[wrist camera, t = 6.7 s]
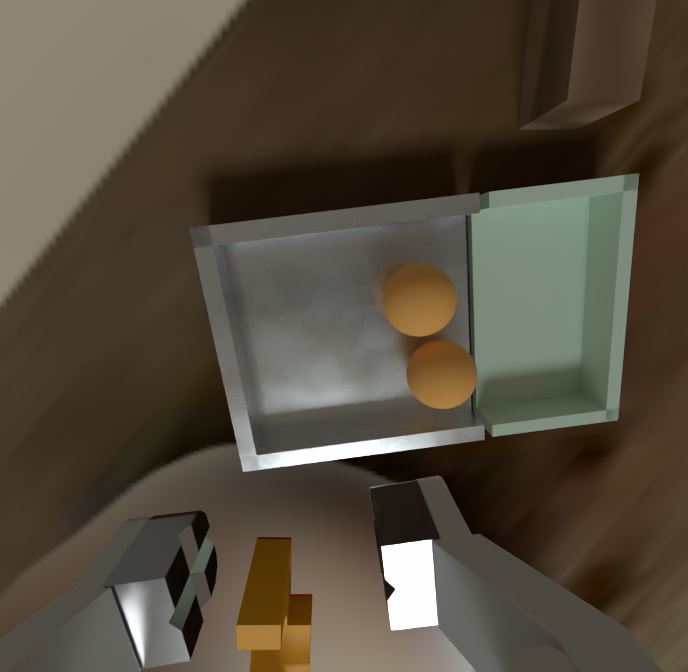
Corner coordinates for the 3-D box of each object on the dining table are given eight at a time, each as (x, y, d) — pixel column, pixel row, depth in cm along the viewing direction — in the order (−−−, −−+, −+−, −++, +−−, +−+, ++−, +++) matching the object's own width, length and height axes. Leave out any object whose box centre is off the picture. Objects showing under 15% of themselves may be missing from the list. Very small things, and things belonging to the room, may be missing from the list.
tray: (596, 183, 21) (639, 173, 18) (584, 399, 25) (617, 420, 22) (467, 199, 21) (489, 191, 18) (473, 414, 25) (492, 436, 22)
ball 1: (441, 257, 21) (467, 260, 17) (444, 323, 22) (470, 339, 18) (374, 266, 21) (385, 270, 17) (381, 331, 22) (392, 349, 18)
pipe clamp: (309, 653, 30) (305, 760, 24) (258, 654, 30) (240, 762, 24) (314, 537, 27) (310, 624, 21) (257, 536, 27) (236, 625, 21)
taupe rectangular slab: (602, -84, 18) (688, -187, 14) (574, 130, 21) (639, 100, 16) (536, -85, 18) (602, -190, 14) (516, 130, 21) (567, 100, 16)
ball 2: (460, 328, 22) (489, 346, 18) (462, 387, 23) (490, 416, 19) (397, 336, 22) (412, 356, 18) (402, 395, 23) (417, 426, 19)
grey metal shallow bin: (457, 200, 21) (479, 192, 18) (464, 415, 25) (484, 439, 22) (209, 230, 21) (189, 227, 18) (253, 443, 25) (243, 471, 22)
